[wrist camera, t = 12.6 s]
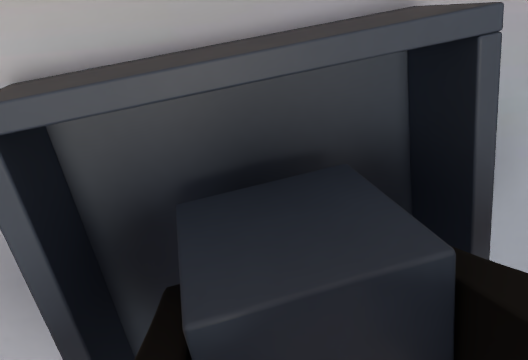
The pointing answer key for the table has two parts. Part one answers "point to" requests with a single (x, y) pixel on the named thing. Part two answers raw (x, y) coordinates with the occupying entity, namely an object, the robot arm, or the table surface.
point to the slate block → (313, 274)
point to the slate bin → (238, 151)
